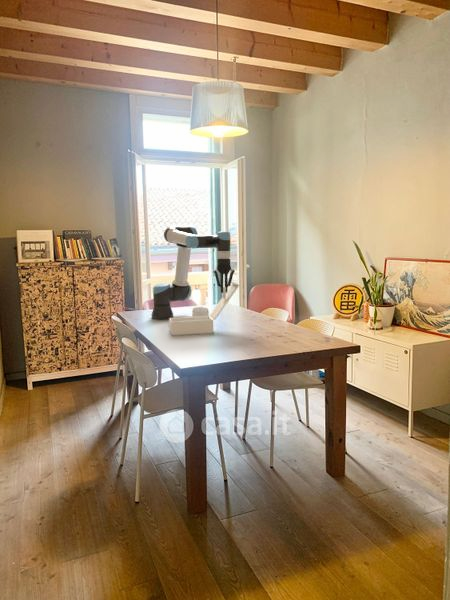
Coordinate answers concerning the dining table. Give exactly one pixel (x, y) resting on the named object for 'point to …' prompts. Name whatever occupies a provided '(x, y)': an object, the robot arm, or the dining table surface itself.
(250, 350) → the dining table surface
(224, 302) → the mailer lid
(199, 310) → the photo printer
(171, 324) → the box
